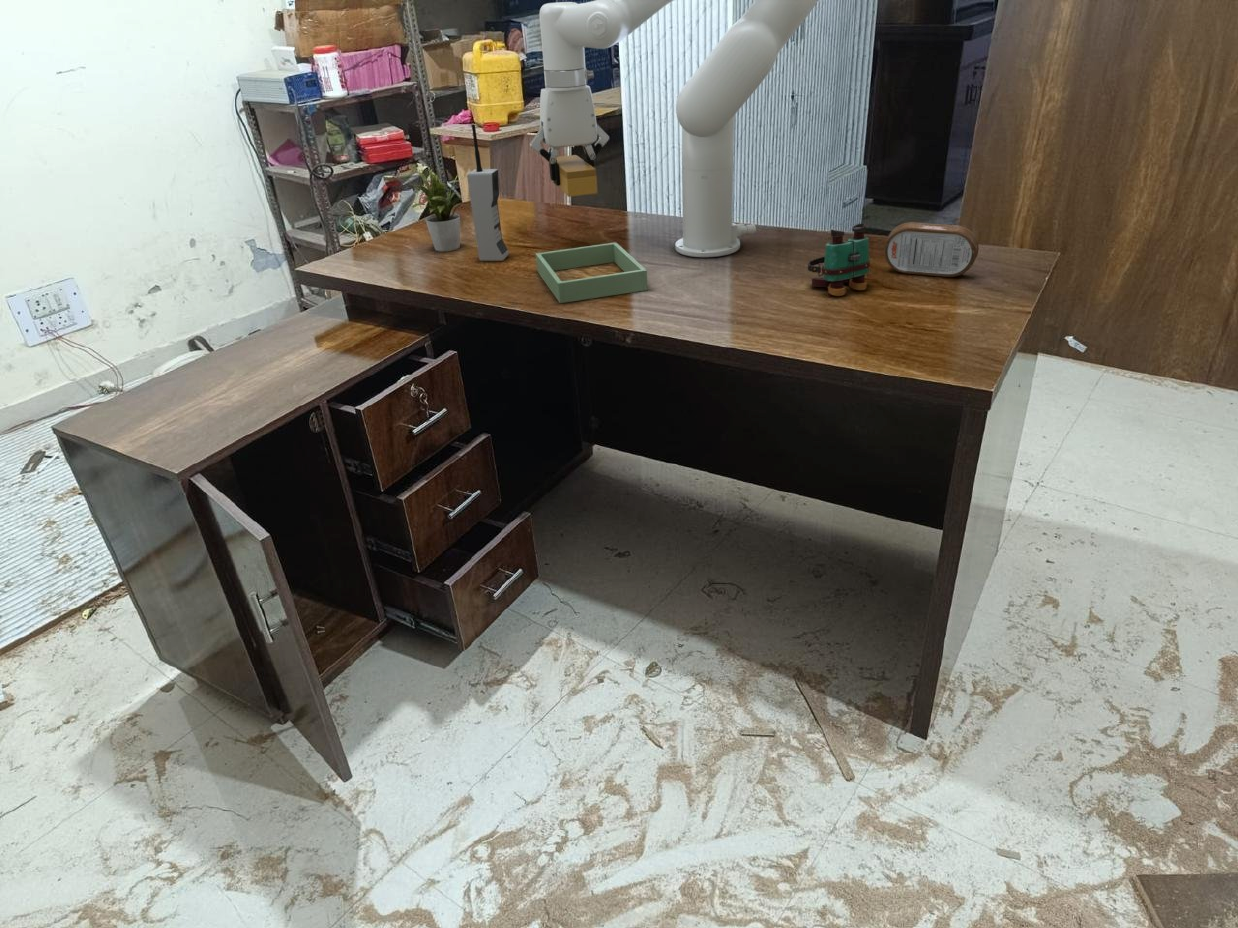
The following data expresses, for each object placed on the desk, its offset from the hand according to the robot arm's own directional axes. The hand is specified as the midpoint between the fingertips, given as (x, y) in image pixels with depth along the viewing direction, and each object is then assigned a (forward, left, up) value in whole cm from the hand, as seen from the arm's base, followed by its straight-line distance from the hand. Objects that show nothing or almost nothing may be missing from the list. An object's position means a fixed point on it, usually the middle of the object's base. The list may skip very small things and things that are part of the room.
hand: (572, 181), depth 161 cm
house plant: (+26, -15, -13) cm, 33 cm away
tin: (-51, +42, -13) cm, 68 cm away
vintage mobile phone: (+17, -2, -13) cm, 22 cm away
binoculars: (-34, +41, -13) cm, 55 cm away
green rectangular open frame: (+3, +20, -13) cm, 24 cm away
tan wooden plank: (0, 0, -1) cm, 1 cm away
